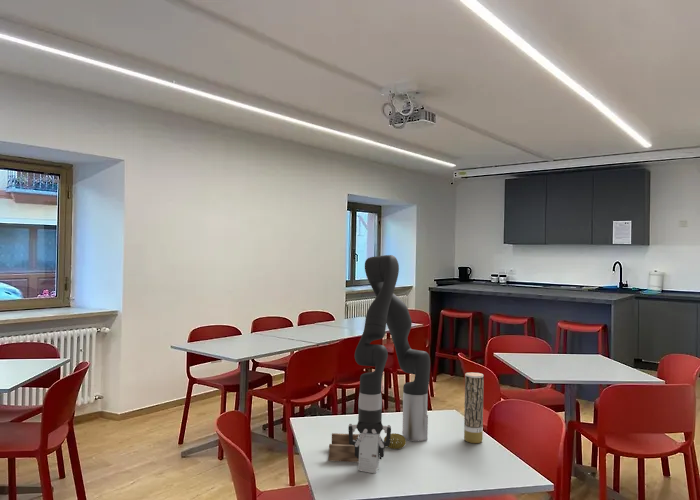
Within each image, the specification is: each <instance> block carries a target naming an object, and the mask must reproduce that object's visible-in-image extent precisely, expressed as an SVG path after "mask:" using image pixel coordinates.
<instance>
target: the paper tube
mask: <svg viewBox="0 0 700 500" xmlns="http://www.w3.org/2000/svg"><path fill="white" fill-rule="evenodd" d="M484 380H485V379H484V374H483V373H480V372H466V373H465V374H464V418H463V421H464V422H463V423H464V424H463V426H464V428H463V432H464V433H463V439H464V441H465V442H467V443H470V444H480V443H483V439H484V437H483V436H484V435H483V433H484V430H483V429H484V422H483V421H484V387H485V386H484V384H485V383H484Z"/></svg>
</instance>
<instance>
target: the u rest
mask: <svg viewBox="0 0 700 500" xmlns="http://www.w3.org/2000/svg"><path fill="white" fill-rule="evenodd" d="M359 434H360V433H359ZM359 434H358V433H353V440H355V441H356V439H357V438H358V436H359ZM328 461H329V462H349V463H350V462H351V463H359V459H358V458H357V457H355V446H354V445H350V444H349V433H336V432H335V433H333V432H332V433H331V443H329V446H328Z"/></svg>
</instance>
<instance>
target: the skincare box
mask: <svg viewBox="0 0 700 500" xmlns="http://www.w3.org/2000/svg"><path fill="white" fill-rule="evenodd" d="M381 433H382V431H381V432H380V434H373V433H366V434H365V436H364V438H363V439H362V441H361V442H360V444H359V462H358V467H357V470H358V471H359V472H366V473H370V474H376V473H377V472H378V470H379V468H380V459H379V454H380V445H379V443H378V435H379V437H380V436H381ZM359 434H360V435H361V433H360V432H359ZM361 438H362V437H361Z"/></svg>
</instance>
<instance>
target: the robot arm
mask: <svg viewBox="0 0 700 500" xmlns="http://www.w3.org/2000/svg"><path fill="white" fill-rule="evenodd" d="M399 270H400V267H399V261H398V259H397V257H396V256H395V255H392V254H386V255H377V256H371V257H370V256H369V257H368V258H366V259H365V262H364V272H365V275H366V278H367V281H368V283H369V285H370V287H371V289H372V291H373V293H374V295H375V299H374V300H373V301H372V303H371V304H370V305H369V307H368V309H367V311H366V315H365V320H364V321H365V322H364V329H363V332H362V334H361V337H360V339H359V342H358V344H357V345H356V347H355V351H354V359H355V360H354V361H355V362H356V363H357V365H359V366H363V367H364V366H365V367H375V368H374V371H369V372H365V373H362V374H361V375H360V377H359V394H358V395H359V396H358V403H357V404H358V409H357V410H358V415H357V417H358V418H357V419H358V421H357V424H352V423H349V425H348V427H347V428H348V434H349V444H350V445H354V446H355V457H357V458H358V459H359V444H360V442H361V441H362V439H363V438H364V436H365V434H366V433H373V434H380V437H379V435H378V443H379V445H380V453H379V460H382V459H384V456H385V448H386V447H387V446H389V445H390V436H391V434H392V426H391V425H390V424H388V425H383V423H382V413H383V411H382V409H383V397H382V384H383V383H382V380H383V375H384V369H385V367H386V363H387V360H388V357H389V355H388V354H389V353H388V349H387V347H386V346H385V345H382V344H374V343H373V344H372V342H374V341H377V340H382V339H383V338H385V334H386V328H387V329H388V332H389V334H390V336H391V339H392V342H393V345H394V348H395V353H396V357H397V361H398V362H397V363H398V364H399V367H400V369H401V370H402V371H403V372H404V373H406V374H409V375H410V374H411V375H414V380H412V381H409V382H406V383H404V384H403V388H402V391H403V393H402V434H401V435H402V436H404V437H405V439H406V441H410V442H424V441H428V434H429V433H428V425H429V415H428V391H429V387H430V386H429V385H430V374H431V357H430V353H428V352H427V351H426V350H425V351H424V350H418V349H412V348H411V346H410V344H409V341H408V337H409V334H410V332H411V329H412V325H413V320H412V317H411V315H410V311H409V309H408V308H409V307H408V306H407V305H406V303H405V302H404V301H403V300H402V299H401V298H400V297H399V296H397V295H396V293H394V292H395V288H396V285H397V281H398V277H399V272H400V271H399ZM356 429H357V431H358V433H359V436H358V438H357V439H356V441H355V440H353V434H354V432H355V431H356ZM382 431H384V433H385V434H386V435H385V436H386V441H384V439H382V436H381V433H382ZM380 432H381V433H380ZM360 433H361V435H360ZM361 437H362V438H361Z"/></svg>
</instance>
